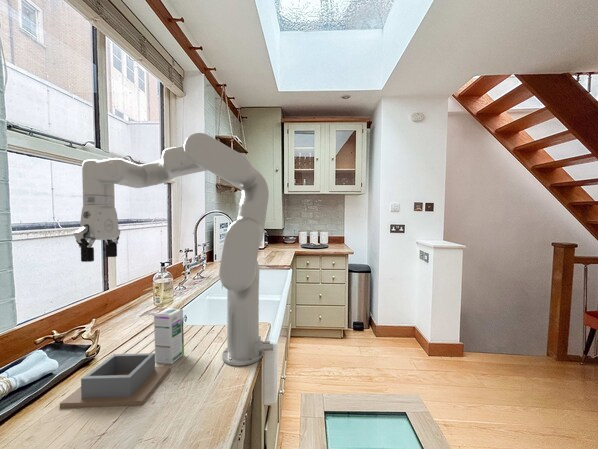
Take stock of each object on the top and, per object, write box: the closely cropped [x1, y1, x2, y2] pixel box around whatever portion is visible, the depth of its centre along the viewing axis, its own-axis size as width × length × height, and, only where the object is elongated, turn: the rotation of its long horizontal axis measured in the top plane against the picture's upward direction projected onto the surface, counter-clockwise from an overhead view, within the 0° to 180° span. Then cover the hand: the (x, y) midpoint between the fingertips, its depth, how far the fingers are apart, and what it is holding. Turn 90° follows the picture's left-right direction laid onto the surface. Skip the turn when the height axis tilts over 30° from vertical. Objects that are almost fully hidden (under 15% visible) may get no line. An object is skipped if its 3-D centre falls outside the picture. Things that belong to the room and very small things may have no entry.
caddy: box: [59, 352, 172, 409], centre depth 65 cm, size 18×14×6 cm
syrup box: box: [153, 307, 185, 365], centre depth 78 cm, size 6×6×14 cm
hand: (100, 259), depth 78 cm, fingers open, 9 cm apart
